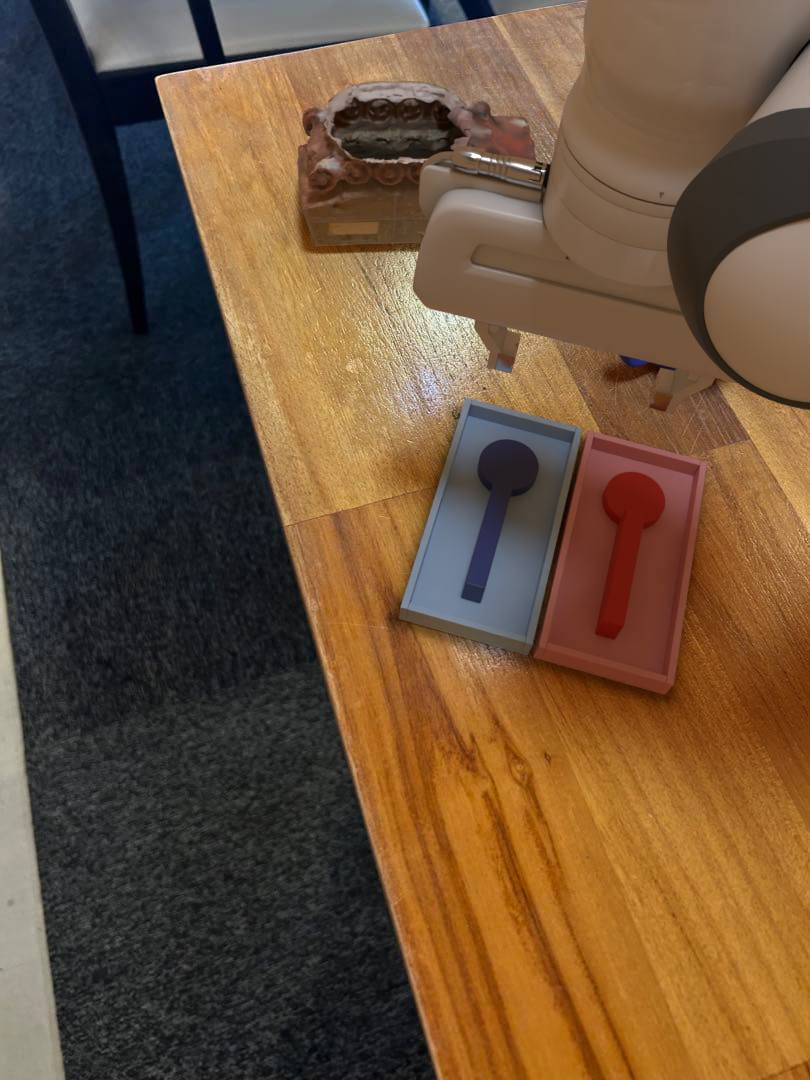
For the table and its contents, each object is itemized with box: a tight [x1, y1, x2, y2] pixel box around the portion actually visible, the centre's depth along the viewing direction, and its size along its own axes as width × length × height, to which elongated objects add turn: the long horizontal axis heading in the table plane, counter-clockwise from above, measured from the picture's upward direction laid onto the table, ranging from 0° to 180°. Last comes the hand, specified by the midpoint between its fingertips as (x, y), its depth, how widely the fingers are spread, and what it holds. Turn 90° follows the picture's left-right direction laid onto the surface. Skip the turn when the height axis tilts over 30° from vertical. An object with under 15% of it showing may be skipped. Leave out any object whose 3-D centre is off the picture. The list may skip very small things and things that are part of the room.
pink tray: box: [533, 430, 708, 696], centre depth 67 cm, size 9×18×2 cm, turn 164°
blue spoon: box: [461, 439, 539, 603], centre depth 67 cm, size 13×4×2 cm, turn 164°
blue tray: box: [398, 397, 583, 656], centre depth 68 cm, size 9×18×2 cm, turn 164°
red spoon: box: [595, 472, 665, 640], centre depth 66 cm, size 13×4×2 cm, turn 164°
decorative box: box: [296, 79, 537, 248], centre depth 79 cm, size 13×20×10 cm, turn 89°
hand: (580, 382), depth 55 cm, fingers open, 8 cm apart
